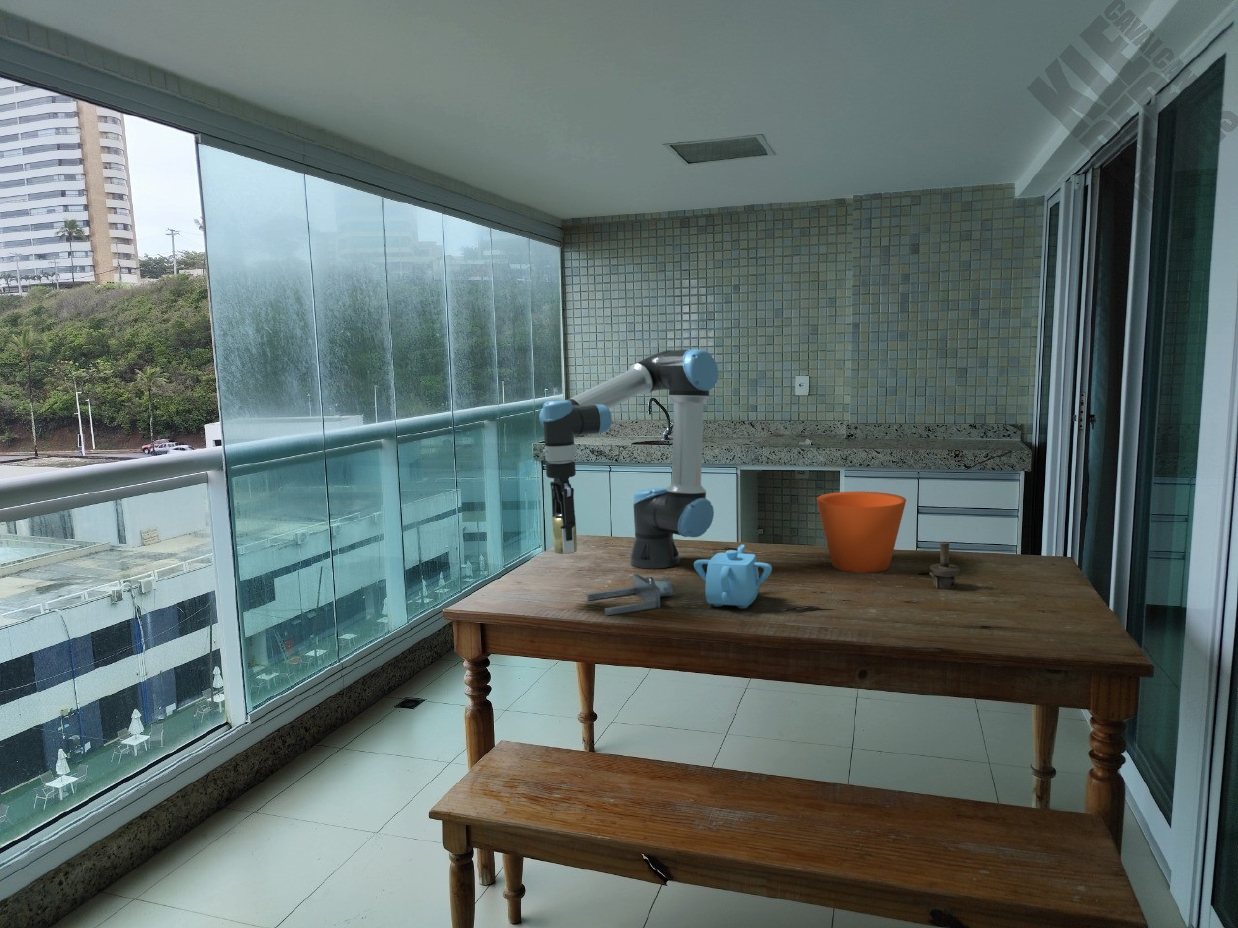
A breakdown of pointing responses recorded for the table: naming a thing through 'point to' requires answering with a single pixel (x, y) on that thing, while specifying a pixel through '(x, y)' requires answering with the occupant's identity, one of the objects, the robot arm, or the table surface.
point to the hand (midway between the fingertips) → (565, 549)
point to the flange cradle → (642, 588)
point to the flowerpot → (861, 528)
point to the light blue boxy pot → (732, 578)
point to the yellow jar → (557, 534)
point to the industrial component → (944, 569)
